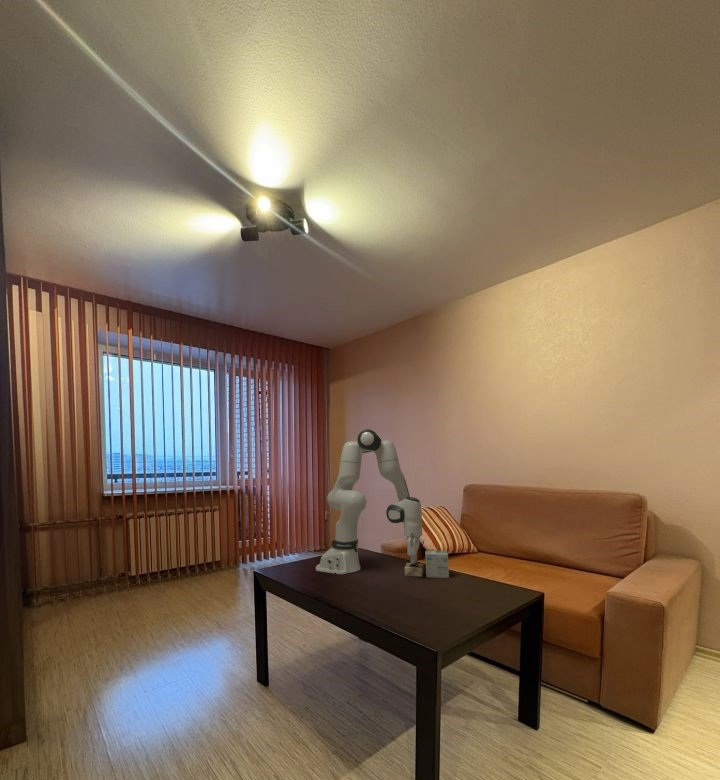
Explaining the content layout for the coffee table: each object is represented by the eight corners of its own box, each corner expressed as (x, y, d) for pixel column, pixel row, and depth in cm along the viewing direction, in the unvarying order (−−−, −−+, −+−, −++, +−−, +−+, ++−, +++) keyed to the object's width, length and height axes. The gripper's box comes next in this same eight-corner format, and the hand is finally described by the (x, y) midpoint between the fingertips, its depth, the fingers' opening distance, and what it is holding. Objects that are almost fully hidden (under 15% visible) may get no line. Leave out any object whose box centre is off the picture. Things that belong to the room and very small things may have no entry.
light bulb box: (447, 573, 194) (447, 550, 195) (449, 578, 187) (448, 554, 189) (425, 573, 195) (424, 550, 196) (426, 577, 188) (425, 553, 190)
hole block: (404, 575, 192) (404, 567, 192) (406, 570, 199) (406, 563, 200) (421, 576, 190) (421, 568, 190) (423, 571, 197) (423, 564, 198)
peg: (417, 569, 194) (417, 550, 195) (412, 570, 193) (411, 550, 194) (415, 567, 197) (415, 548, 198) (409, 568, 196) (409, 549, 197)
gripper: (417, 536, 187) (418, 567, 185) (421, 527, 206) (422, 556, 204) (404, 535, 188) (404, 566, 186) (409, 527, 208) (409, 555, 206)
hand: (413, 561), depth 195 cm, fingers closed on peg, 3 cm apart
